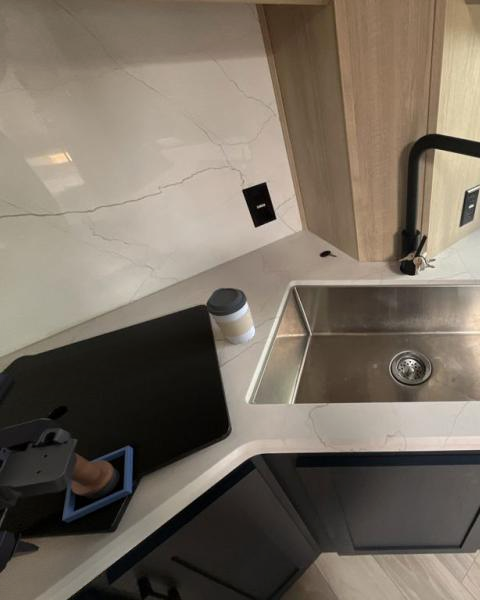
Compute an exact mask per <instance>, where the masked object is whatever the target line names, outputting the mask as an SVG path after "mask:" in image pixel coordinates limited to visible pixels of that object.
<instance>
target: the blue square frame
mask: <svg viewBox="0 0 480 600" xmlns="http://www.w3.org/2000/svg"><path fill="white" fill-rule="evenodd" d="M133 455H134V448H133V447H131V446H130V445H126V446H124V447H122V448H119V449H117V450H115V451H112V452H109V453H107V454H105V455H102V456H99V457H97V458H95V459H93V460H90V461H89V462H91V463H92V462H95V461H99V460H105V461H107V462H109V463H110V462H111V461H113V460H116V459H119V458H120V457H122V456H124V469H123V473H124V474H123V489H121V490H119V491H115V492H114V493H112V494H110V495H108V496H107V495H106V496H104V497H102V498H100V499H99V500H96V501H94V502H93V503H90V504H88V505H85V506H83V507H81V508H79V509H76V510H75V505H76V497H77V494H76V493H74V492H73V491H72V489H71V485H72V481H73V480H72V479H71V481H70V483H69V485H68V486H67V487H66V493H65V498H64V499H65V500H64V505H63V506H64V507H63V511H62V519H61V521H63V522H65V523H68V524H69V523H71V522H73V521H75V520H77V519H80V518H82V517H84V516H87V515H88V514H90V513H93V512H95V511H96V510H100V509H101V508H104V507H105V506H107V505H110V504H112V503H114V502H116V501H118V500H121V499H122V498H125V497H128V496H129V495H131V494H132V493H133V464H134V463H133V462H134V461H133V460H134V459H133V458H134V456H133Z"/></svg>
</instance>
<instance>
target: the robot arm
mask: <svg viewBox="0 0 480 600" xmlns="http://www.w3.org/2000/svg"><path fill="white" fill-rule="evenodd" d="M15 385H16V381H15V379H14V378H13V376H11V375H9V374H8V373H5V372H0V408H1V407H2V405H3V404H4V403H5V401H6V399H7V398H8V396H9V395H10V393H11V392H12V390H13V389H14V387H15ZM61 427H62V426H61V425H60V424H59V423H58V422H56V421H54V420H53V419H51V418H45V417H42V418H38V419H34V420H30V421H26V422H23V423H18V424H15V425H11V426H8V427H4V428H1V429H0V528H1V526H2V524H3V522H4V520H5V518H6V515H7V513H8V511H9V508H11V507H15V506H16V503H17V501H18V499H24V498H25V499H26V498H30V497H34V496H40V495H46V494H55V493H56V494H57V493H59V492H62V491H64V490H66V489H67V486H68V485H69V483H70V481H71V476H72V473H73V470H74V467H75V464H76V462H77V457H76V454H77V453H76V452H75V450H76V446H77V444H78V441H79V440H78V439H76V438H73V437H72V435H71V433H70V432H69V431H66V430H65V429H63V428H61ZM75 453H76V454H75ZM21 537H22V532H20V533H16V534H14V532H12V531H9V530H0V574H1V573H2V572H3V571H4V570H6V568H7V565H8V563H10V562H11V560H12V559H13V558H18V557H22V556H26V555H31V554H33V553H36V552H38V551H39V549H40V546H38V545H36V544H35V543H32V542H28V541H25V540H20V539H21Z"/></svg>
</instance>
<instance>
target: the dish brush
mask: <svg viewBox="0 0 480 600" xmlns="http://www.w3.org/2000/svg"><path fill="white" fill-rule="evenodd" d="M75 454H76V457H77V462H76V464H75V467H74V470H73V473H72V476H71V479H72V480H73V481H72V485H71V489H72V491H73V492H74V493H76V495H78V496H81V497H85V498H87V499H90V500H97V499H102V498H104V497H106V496H107V495H108V494H109V493H111V491H112V490H114V488H115V487H116V486H117V485H118V483H119V480H120V475H121V474H120V471H119V470H118V469H116V468H115V467H113V465H112V464H111V463H110V461H109V462H107V461H105V460H99V461H95V462H92V463H91V462H90V461H89V460H88V459H86V458H84V457H83V456H81V455H80V454H78V453H76V452H75Z"/></svg>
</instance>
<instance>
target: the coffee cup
mask: <svg viewBox="0 0 480 600" xmlns="http://www.w3.org/2000/svg"><path fill="white" fill-rule="evenodd" d="M205 307H206V310H207V312H208V313H209V314H210V315H211V317H212V319H213V321H214V322H215V324H216V325H217V327H218V328H219V330H220V331H221V333H222V334H223V335H224V337H225V338H226V340H227V341H228V342H229V343H230V344H233V345H240V344H244V343H246V342H248V341H250V340H251V339H252V338H253V337H254V335H255V334H256V329H255V325H254V319H253V316H252V312H251V309H250V305H249V303H248V299H247V295H246V294H245V292H244V291H243V290H242V289H238V288H234V287H220V288H217V289H215V290H213V292H212V294H211V295H210V296H209V298H208V299H207V301H206V303H205Z"/></svg>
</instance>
